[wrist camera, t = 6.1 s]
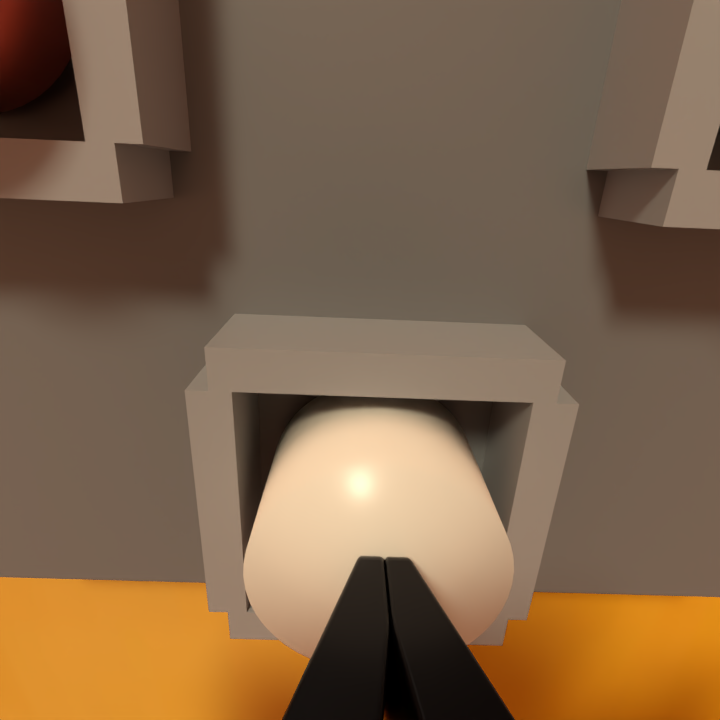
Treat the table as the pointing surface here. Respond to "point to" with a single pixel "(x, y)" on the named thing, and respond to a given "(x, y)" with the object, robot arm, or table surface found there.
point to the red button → (30, 49)
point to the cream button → (374, 515)
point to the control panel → (365, 277)
